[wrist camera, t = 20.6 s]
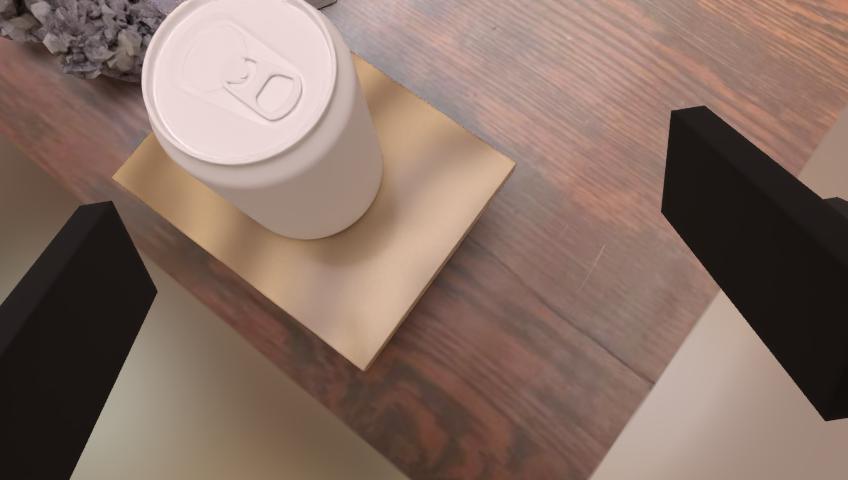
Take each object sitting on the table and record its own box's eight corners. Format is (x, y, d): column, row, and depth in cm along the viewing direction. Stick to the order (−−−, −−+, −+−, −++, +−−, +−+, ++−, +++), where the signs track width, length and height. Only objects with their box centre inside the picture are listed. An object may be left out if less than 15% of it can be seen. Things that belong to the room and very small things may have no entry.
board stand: (501, 205, 42) (517, 162, 33) (382, 367, 40) (363, 371, 31) (304, 68, 45) (266, -7, 35) (184, 215, 43) (111, 177, 34)
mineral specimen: (-41, 20, 42) (-58, -56, 34) (65, -44, 47) (73, -125, 38) (100, 147, 46) (115, 107, 38) (185, 78, 51) (216, 28, 42)
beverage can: (292, 78, 34) (212, -66, 23) (411, 146, 33) (392, 32, 22) (211, 195, 33) (83, 106, 21) (332, 269, 32) (267, 220, 20)
